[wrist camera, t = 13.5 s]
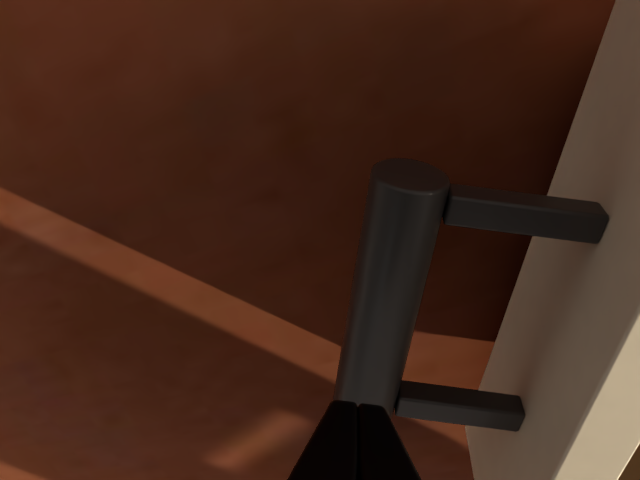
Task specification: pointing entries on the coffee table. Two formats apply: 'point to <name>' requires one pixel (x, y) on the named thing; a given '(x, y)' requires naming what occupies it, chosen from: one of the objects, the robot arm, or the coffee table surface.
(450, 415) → the drawer
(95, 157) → the coffee table surface
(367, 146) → the coffee table surface
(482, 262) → the coffee table surface
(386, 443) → the robot arm
